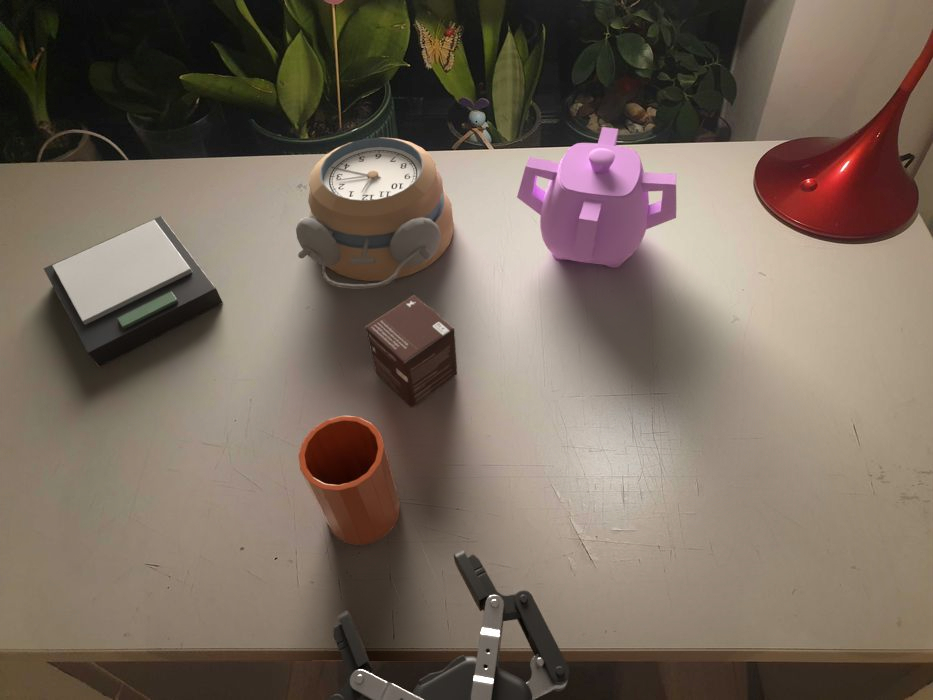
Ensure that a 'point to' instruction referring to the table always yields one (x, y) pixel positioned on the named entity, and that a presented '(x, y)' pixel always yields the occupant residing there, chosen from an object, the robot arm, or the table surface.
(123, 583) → the table surface
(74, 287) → the scale
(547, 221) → the pot
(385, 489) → the cup
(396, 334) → the box
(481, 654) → the robot arm
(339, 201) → the alarm clock
